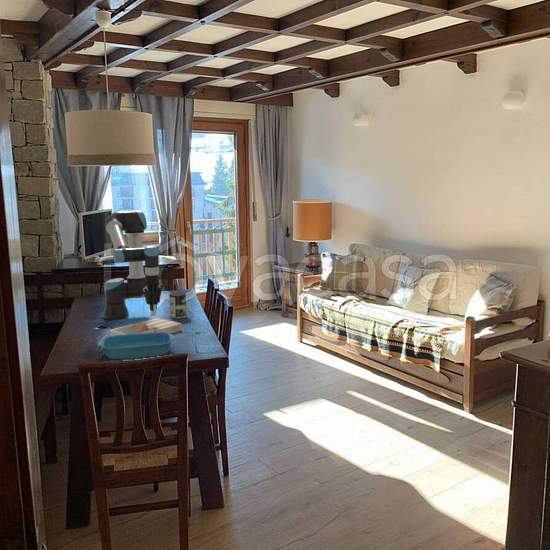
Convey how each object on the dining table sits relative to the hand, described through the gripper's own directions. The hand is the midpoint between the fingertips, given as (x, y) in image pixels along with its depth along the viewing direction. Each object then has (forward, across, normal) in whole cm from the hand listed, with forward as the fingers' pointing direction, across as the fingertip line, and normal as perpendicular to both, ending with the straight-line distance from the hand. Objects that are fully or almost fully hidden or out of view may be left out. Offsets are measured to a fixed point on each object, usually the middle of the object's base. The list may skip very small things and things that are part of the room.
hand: (153, 315), depth 313 cm
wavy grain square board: (+9, +2, -1) cm, 9 cm away
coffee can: (+10, +32, +15) cm, 36 cm away
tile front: (+5, -17, -1) cm, 18 cm away
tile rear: (+6, -9, -1) cm, 11 cm away
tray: (+9, -16, -1) cm, 18 cm away
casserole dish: (+9, -30, -24) cm, 40 cm away
